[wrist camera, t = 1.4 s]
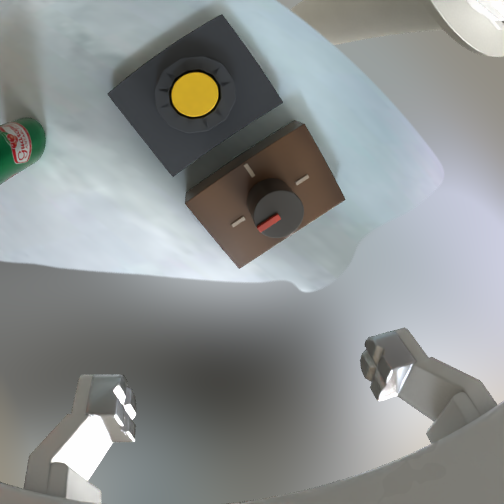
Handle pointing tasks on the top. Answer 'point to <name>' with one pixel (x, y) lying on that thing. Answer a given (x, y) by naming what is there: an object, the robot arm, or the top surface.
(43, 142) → the soda can
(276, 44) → the top surface
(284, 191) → the knob
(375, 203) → the top surface
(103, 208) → the top surface
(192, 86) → the button
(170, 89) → the button box
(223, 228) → the dial panel
